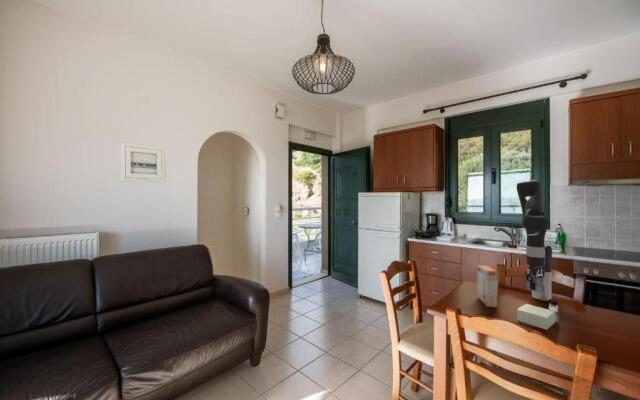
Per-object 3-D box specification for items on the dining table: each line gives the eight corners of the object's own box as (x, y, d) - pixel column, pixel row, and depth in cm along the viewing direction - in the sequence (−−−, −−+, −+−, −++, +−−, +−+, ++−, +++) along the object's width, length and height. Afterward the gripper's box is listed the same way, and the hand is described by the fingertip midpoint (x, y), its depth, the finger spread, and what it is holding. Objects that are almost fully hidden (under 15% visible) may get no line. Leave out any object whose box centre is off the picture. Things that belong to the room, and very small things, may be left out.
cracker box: (498, 307, 153) (497, 271, 153) (486, 307, 154) (486, 271, 154) (487, 298, 167) (487, 265, 166) (477, 298, 168) (477, 264, 168)
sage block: (526, 314, 144) (526, 303, 144) (554, 323, 135) (554, 311, 135) (517, 321, 138) (517, 309, 137) (546, 330, 128) (546, 317, 128)
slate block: (532, 288, 139) (532, 274, 139) (544, 291, 135) (544, 277, 135) (527, 289, 137) (527, 276, 137) (538, 292, 133) (538, 278, 132)
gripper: (534, 252, 142) (534, 284, 142) (519, 255, 136) (519, 288, 136) (551, 255, 135) (551, 288, 136) (536, 258, 129) (536, 293, 129)
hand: (535, 288), depth 136 cm, fingers closed on slate block, 5 cm apart
